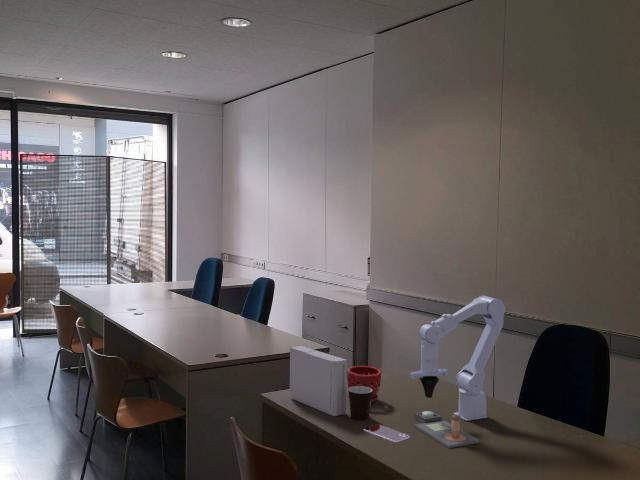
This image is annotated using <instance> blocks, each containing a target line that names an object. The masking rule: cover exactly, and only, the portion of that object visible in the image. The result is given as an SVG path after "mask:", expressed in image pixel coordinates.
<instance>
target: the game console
mask: <svg viewBox="0 0 640 480" xmlns="http://www.w3.org/2000/svg"><path fill="white" fill-rule="evenodd" d="M289 352H290V353H289V393H290V395H291V398H292V400H295V401H296V402H299V403H301V404H304V405H305V406H309V407H311V408H312V409H313V408H314V409H316V410H318V411H320V412H323V413H325V414H328V415H330V416H332V417H337V416H342V415H346V414H347V383H348V381H347V370H348V367H347V366H348V359H346V358H342V357H339V356H335V355H332V354H330V353H327V352H322V351H319V350H316V349H313V348H310V347H308V346H304V345H297V346H291V347H289Z"/></svg>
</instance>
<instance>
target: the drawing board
mask: <svg viewBox="0 0 640 480" xmlns="http://www.w3.org/2000/svg"><path fill="white" fill-rule="evenodd" d="M414 427H415V428H416V429H417V430H419V431H420V432H422V433H424V434H426V435H427V436H429V437H430V438H431V439H433V440H435V441H436V442H438V443H440V444H442V445H443V446H444V447H446V448H447V449H453V448H458V447H464V446H465V447H466V446H470V445H475V444H480V443H481V440H480V439H479V438H477V437H474V435H471V434H470V433H468V432H465V431H464V430H462V429H460V436H459V439H454V438H452V437H451V428H452V423H449V422H448V421H446V420H443V419H442V421H435V422H428V423H421V422H420V423H418V424H417V423H416V424H414Z"/></svg>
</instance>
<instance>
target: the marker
mask: <svg viewBox="0 0 640 480" xmlns="http://www.w3.org/2000/svg"><path fill="white" fill-rule="evenodd" d="M451 424H452V428H451V437H452V438H454V439H459V436H460V430H461V418H460V416H459V415H454V414H452V415H451Z"/></svg>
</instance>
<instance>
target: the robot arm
mask: <svg viewBox="0 0 640 480" xmlns="http://www.w3.org/2000/svg"><path fill="white" fill-rule="evenodd" d="M505 313H506V306H505V304H504V302H503V300H501V299H499V298H494V297H490V296H487V295H480V296H478V297H477V298H474V299H473V300H472V301H471V302H469V304H467V305H465V306H464V307H462V308H461V309H459V310H458V311H456V312H454V313H453V314H450V313H444V314H442V315H441V317H439V318H438V319H437V318H436V319H435V320H432V321H430V324H429V323H426V324H423V325H422V326H421V327H420V329H419V331H418V336H419V338H420V339H421V345H420V349H421V350H420V352H421V353H420V359H421V360H420V369H419V370H416V371H411V372H409V379H412V380H416V379H419V381H420V383H421V385H422V389H423V391H424V396H425V397H426V398H428V399H432V398H433V394H434V391H435V388H436V385H437V384H438V382H439V381H440V378H439V376H440V377H441V376H448V375H449V374H448V373H449V369H446V368H438V364H439V363H438V358H439V357H438V355H439V353H438V352H439V342H440V340H441V339H442V337H443V336H445V335H446V334H448V333H450V332H451V331H453V330H455V329H457V327H458V323H460V322H463V321H465V320H467V319H468V318H470V317H473V316H475V315H481V316H482V317H483V318H484V319H483V320H484V321H485V323H486V324H485V327H484V329H483V331H482V333H481V336H480V338H479V340H478V342H477V344H476V346H475V349H474V351H473V353H472V356H471V357H470V360H469V362H468V363H467V364H465V365H463V367H462V369H461V370H460V371H459V372H457V374H456V375H455V383H456V385H457V386H458V411H456V412H455V411H454V412H453V414H452V415H459V416H460V419H461V420H463V421H473V420H474V421H476V420H481V419H482V420H483V419H487V418H488V416H487V396H486V394H485V393H484V391H483V389H484V383H485V379H486V374H485V372H484V370H485V367H486V366H487V362H488V360H489V358H490V356H491V354H492V351H493V349H494V348H495V344H496V343H497V340H498V338H499V336H500V333H501V331H502V328H503V326H504V320H505V319H504V318H505V317H504V315H505Z"/></svg>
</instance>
